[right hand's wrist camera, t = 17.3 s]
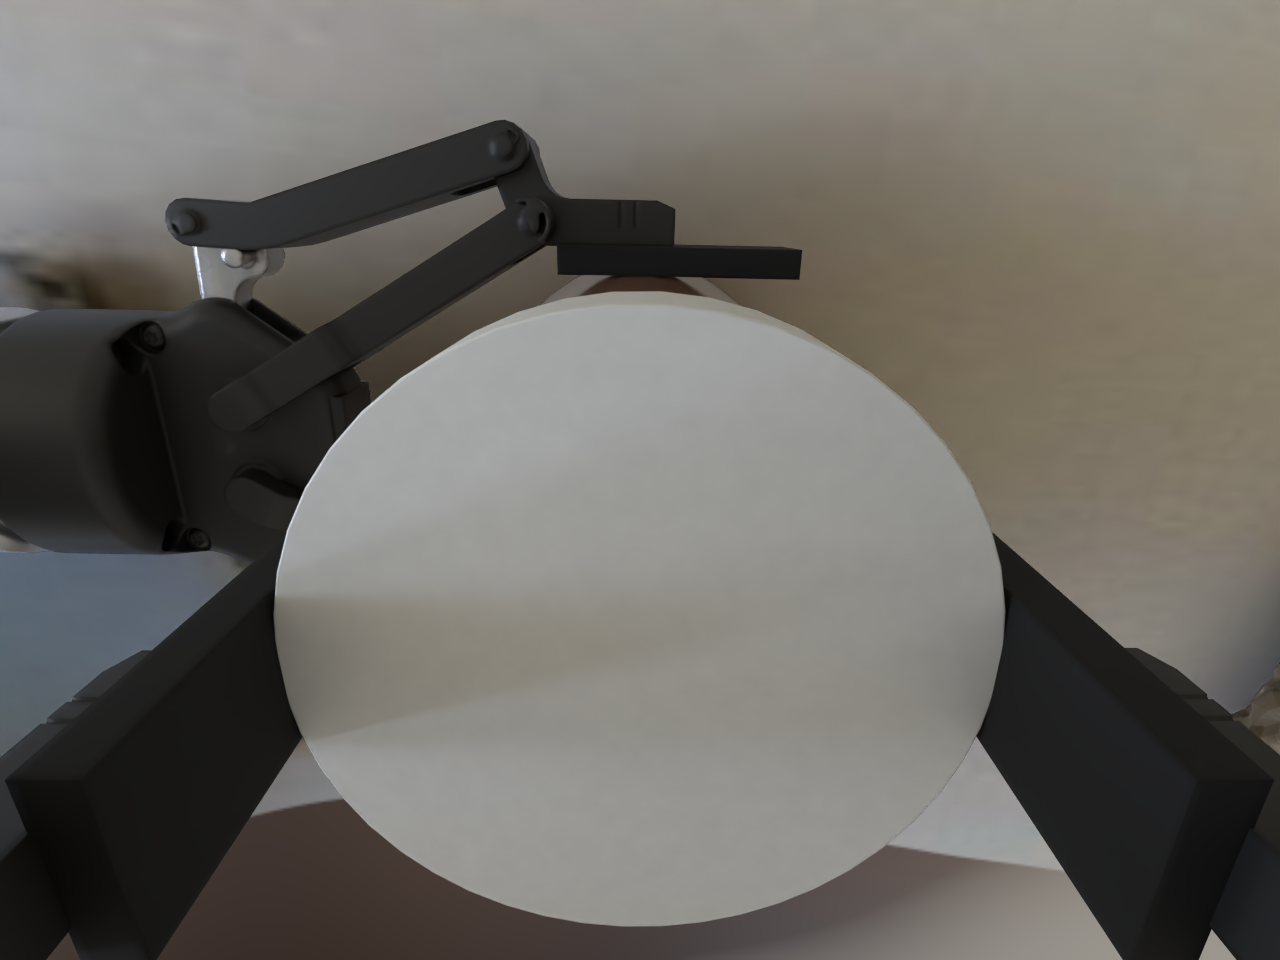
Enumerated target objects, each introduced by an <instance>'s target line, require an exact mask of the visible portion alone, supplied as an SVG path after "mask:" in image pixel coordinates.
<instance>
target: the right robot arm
mask: <svg viewBox="0 0 1280 960" xmlns="http://www.w3.org/2000/svg"><path fill="white" fill-rule="evenodd" d="M992 534H993V538H994V542H995V545H996V549H997V553H998V557H999V560H1000V564H1001V570H1002V580H1003V590H1004V600H1005V628H1004V641H1003V646H1002V652H1001V656H1000V661H999V665H998V670H997V675H996V679H995V684H994V688H993V693H992V696H991V700H990V704H989V707H988V710H987V713H986V715H985V718H984V721H983V723H982V726H981V728H980V730H979V732H978V734H977V738H978V739H979V741H980V742H981V744H982V746H983V747H984V749H985V750H986V752H987V753H988V755H989V756H990V758H991V759H992V761H993V762H994V764H995V765H996V767H997V768H998V770H999V771H1000V773H1001V775H1002V776H1003V778H1004V779H1005V781H1006V782H1007V784H1008V785H1009V787H1010V788H1011V790H1012V791H1013V793H1014V794H1015V796H1016V797H1017V799H1018V800H1019V802H1020V803H1021V805H1022V807H1023V808H1024V810H1025V811H1026V813H1027V814H1028V816H1029V817H1030V819H1031V820H1032V822H1033V823H1034V825H1035V826H1036V828H1037V829H1038V831H1039V832H1040V834H1041V836H1042V837H1043V839H1044V840H1045V842H1046V843H1047V845H1048V846H1049V848H1050V849H1051V851H1052V852H1053V854H1054V855H1055V857H1056V858H1057V860H1058V861H1059V863H1060V865H1061V866H1062V868H1063V869H1064V871H1065V872H1066V874H1067V875H1068V877H1069V878H1070V880H1071V881H1072V883H1073V884H1074V886H1075V887H1076V889H1077V890H1078V892H1079V893H1080V895H1081V897H1082V898H1083V900H1084V901H1085V903H1086V904H1087V906H1088V907H1089V909H1090V910H1091V912H1092V913H1093V915H1094V916H1095V918H1096V919H1097V921H1098V922H1099V924H1100V926H1101V927H1102V929H1103V930H1104V932H1105V933H1106V935H1107V936H1108V938H1109V939H1110V941H1111V942H1112V944H1113V945H1114V947H1115V948H1116V950H1117V951H1118V953H1119V954H1120V956H1121V958H1122V959H1123V960H1199V958H1200V955H1201V953H1202V950H1203V948H1204V946H1205V943H1206V941H1207V939H1208V936H1209V934H1210V931H1211V929H1212V930H1213V931H1214V932H1215V934H1216V935H1217V936H1218V937H1219V939H1220V940H1221V941H1222V942H1223V944H1224V945H1225V946H1226V947H1227V949H1228V950H1229V951H1230V952H1231V953H1232V955H1233V956H1234V957H1235V958H1236V960H1280V755H1279V754H1278V753H1277V752H1276V751H1275V750H1273V749H1272V748H1271V747H1270V746H1269V745H1267V744H1266V743H1265V742H1264V741H1263V740H1261V739H1260V738H1259V737H1258V736H1257V735H1255V734H1254V733H1253V732H1252V731H1251V730H1249V729H1248V728H1247V727H1246V726H1245V725H1243V724H1242V723H1241V722H1240V721H1234V720H1233V718H1232V716H1233V715H1231V714H1230V713H1229V712H1228V711H1226V710H1225V709H1224V708H1223V707H1222V706H1220V705H1219V704H1218V703H1217V702H1216V701H1214V700H1213V699H1208V698H1207V694H1206V693H1205V692H1204V691H1202V690H1201V689H1200V688H1199V687H1198V686H1196V685H1195V684H1194V683H1193V682H1192V681H1190V680H1189V679H1188V678H1187V677H1186V676H1184V675H1183V674H1182V673H1181V672H1180V671H1178V670H1177V669H1175V668H1174V667H1172V666H1170V665H1168V664H1166V663H1164V662H1162V661H1161V660H1159V659H1157V658H1155V657H1153V656H1151V655H1149V654H1148V653H1146V652H1144V651H1142V650H1140V649H1138V648H1124V647H1123V646H1121V645H1120V644H1119V643H1118V642H1117V641H1116V640H1115V639H1113V638H1112V637H1111V636H1110V635H1109V634H1108V633H1107V632H1105V631H1104V630H1103V629H1102V628H1101V627H1100V626H1099V625H1097V624H1096V623H1095V622H1094V621H1093V620H1092V619H1091V618H1089V617H1088V616H1087V615H1086V614H1085V613H1084V612H1083V611H1082V610H1080V609H1079V608H1078V607H1077V606H1076V605H1075V604H1074V603H1072V602H1071V601H1070V600H1069V599H1068V598H1067V597H1066V596H1064V595H1063V594H1062V593H1061V592H1060V591H1059V590H1058V589H1056V588H1055V587H1054V586H1053V585H1052V584H1051V583H1050V582H1048V581H1047V580H1046V579H1045V578H1044V577H1043V576H1042V575H1040V574H1039V573H1038V572H1037V571H1036V570H1035V569H1034V568H1032V567H1031V566H1030V565H1029V564H1028V563H1027V562H1026V561H1024V560H1023V559H1022V558H1021V557H1020V556H1019V555H1018V554H1017V553H1015V552H1014V551H1013V550H1012V549H1011V548H1010V547H1009V546H1007V545H1006V544H1005V543H1004V542H1003V541H1002V540H1001V539H999V538H998V537H997V536H996V535H995V534H994V533H993V532H992ZM285 537H286V534H284V535H283V536H282V537H281V538H280V539H279V540H278V541H276V542H275V543H274V544H273V545H272V546H271V547H270V548H268V549H267V550H266V551H265V552H264V553H263V554H262V555H260V556H259V557H258V558H257V559H256V560H255V561H254V562H252V563H251V564H250V565H249V566H248V567H247V568H246V569H244V570H243V571H242V572H241V573H240V574H239V575H238V576H236V577H235V578H234V579H233V580H232V581H231V582H230V583H228V584H227V585H226V586H225V587H224V588H223V589H222V590H220V591H219V592H218V593H217V594H216V595H215V596H214V597H212V598H211V599H210V600H209V601H208V602H207V603H206V604H205V605H203V606H202V607H201V608H200V609H199V610H198V611H197V612H195V613H194V614H193V615H192V616H191V617H190V618H189V619H187V620H186V621H185V622H184V623H183V624H182V625H181V626H179V627H178V628H177V629H176V630H175V631H174V632H173V633H171V634H170V635H169V636H168V637H167V638H166V639H165V640H163V641H162V642H161V643H160V644H159V645H158V646H157V647H155V648H154V649H153V650H152V651H141V652H139V653H137V654H135V655H133V656H131V657H129V658H128V659H126V660H124V661H122V662H120V663H118V664H117V665H115V666H113V667H111V668H109V669H107V670H106V671H104V672H102V673H101V674H100V675H99V676H97V677H96V678H95V679H94V680H93V681H91V682H90V683H89V684H88V685H87V686H85V687H84V688H83V689H82V690H81V691H79V692H78V693H77V694H76V695H75V696H74V697H73V700H72V702H66V703H65V704H64V705H63V706H62V707H60V708H59V709H58V710H57V711H56V712H54V713H53V714H52V715H51V716H50V717H48V718H47V723H46V724H40V725H39V726H38V727H36V728H35V729H34V730H33V731H32V732H30V733H29V734H28V735H27V736H26V737H24V738H23V739H22V740H21V741H20V742H18V743H17V744H16V745H15V746H14V747H13V748H11V749H10V750H9V751H8V752H7V753H5V754H4V755H3V756H2V757H1V758H0V960H46V959H47V958H48V957H49V955H50V954H51V953H52V952H53V950H54V949H55V948H56V947H57V945H58V944H59V943H60V942H61V940H62V939H63V938H64V937H65V935H66V934H67V933H68V932H69V934H70V936H71V939H72V941H73V943H74V946H75V948H76V951H77V953H78V955H79V958H80V960H156V959H157V958H158V956H159V955H160V953H161V952H162V950H163V949H164V947H165V946H166V944H167V943H168V941H169V940H170V938H171V937H172V935H173V934H174V932H175V930H176V929H177V927H178V926H179V924H180V923H181V921H182V920H183V918H184V917H185V915H186V914H187V912H188V911H189V909H190V908H191V906H192V904H193V903H194V901H195V900H196V898H197V897H198V895H199V894H200V892H201V891H202V889H203V888H204V886H205V885H206V883H207V882H208V880H209V879H210V877H211V876H212V874H213V873H214V871H215V869H216V868H217V866H218V865H219V863H220V862H221V860H222V859H223V857H224V856H225V854H226V853H227V851H228V850H229V848H230V847H231V845H232V844H233V842H234V840H235V839H236V837H237V836H238V834H239V833H240V831H241V830H242V828H243V827H244V825H245V824H246V822H247V821H248V819H249V818H250V816H251V815H252V813H253V812H254V810H255V808H256V807H257V805H258V804H259V802H260V801H261V799H262V798H263V796H264V795H265V793H266V792H267V790H268V789H269V787H270V786H271V784H272V783H273V781H274V779H275V778H276V776H277V775H278V773H279V772H280V770H281V769H282V767H283V766H284V764H285V763H286V761H287V760H288V758H289V757H290V755H291V754H292V752H293V751H294V749H295V747H296V746H297V744H298V743H299V741H300V740H301V738H302V737H303V736H302V735H301V733H300V730H299V728H298V725H297V723H296V720H295V718H294V715H293V713H292V710H291V708H290V704H289V701H288V697H287V693H286V688H285V684H284V679H283V675H282V670H281V666H280V661H279V657H278V652H277V646H276V641H275V629H274V616H273V614H274V602H275V590H276V577H277V570H278V566H279V562H280V558H281V553H282V549H283V545H284V541H285Z"/></svg>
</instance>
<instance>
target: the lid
mask: <svg viewBox="0 0 1280 960" xmlns="http://www.w3.org/2000/svg"><path fill="white" fill-rule="evenodd" d="M273 616H274V629H275V641H276V646H277V652H278V657H279V661H280V666H281V670H282V675H283V679H284V684H285V688H286V693H287V697H288V701H289V704H290V708H291V710H292V713H293V715H294V718H295V720H296V723H297V725H298V728H299V730H300V733H301V735H302V736H303V738H304V740H305V742H306V743H307V745H308V747H309V749H310V751H311V752H312V754H313V756H314V758H315V759H316V761H317V763H318V765H319V767H320V768H321V769H322V771H323V772H324V773H325V775H326V776H327V777H328V779H329V780H330V781H331V783H332V784H333V785H334V787H335V788H336V789H337V791H338V792H339V793H340V795H341V796H342V797H343V798H344V800H345V801H346V802H347V803H348V804H349V805H350V806H351V807H352V808H353V809H354V810H355V811H356V812H357V813H358V814H359V815H360V816H361V817H362V818H363V819H364V820H365V821H366V822H367V823H368V824H369V825H370V826H371V827H372V828H373V829H374V830H375V831H377V832H378V833H379V834H380V835H381V836H383V837H384V838H385V839H386V840H388V841H389V842H390V843H391V844H392V845H394V846H395V847H396V848H397V849H399V850H400V851H401V852H403V853H404V854H406V855H407V856H409V857H410V858H412V859H413V860H415V861H416V862H418V863H419V864H421V865H423V866H424V867H426V868H427V869H429V870H430V871H432V872H433V873H435V874H437V875H439V876H441V877H443V878H445V879H447V880H449V881H451V882H453V883H455V884H457V885H459V886H461V887H463V888H464V889H466V890H468V891H471V892H473V893H476V894H479V895H481V896H484V897H486V898H489V899H492V900H494V901H496V902H499V903H502V904H504V905H507V906H511V907H514V908H518V909H522V910H525V911H529V912H532V913H536V914H539V915H543V916H548V917H553V918H559V919H564V920H570V921H576V922H581V923H590V924H602V925H614V926H667V925H677V924H687V923H697V922H705V921H710V920H715V919H720V918H725V917H730V916H735V915H740V914H744V913H747V912H751V911H754V910H757V909H761V908H764V907H767V906H771V905H774V904H778V903H780V902H783V901H785V900H788V899H790V898H793V897H795V896H797V895H800V894H802V893H805V892H807V891H810V890H812V889H815V888H817V887H819V886H821V885H822V884H824V883H826V882H828V881H830V880H832V879H834V878H836V877H838V876H840V875H841V874H843V873H845V872H847V871H849V870H851V869H852V868H854V867H855V866H856V865H858V864H860V863H861V862H862V861H864V860H866V859H867V858H868V857H870V856H871V855H873V854H874V853H876V852H877V851H879V850H880V849H882V848H883V847H884V846H886V845H887V844H888V843H889V842H890V841H891V840H893V839H894V838H895V837H896V836H897V835H899V834H900V833H901V832H902V831H903V830H904V829H906V828H907V827H908V826H909V825H910V824H912V823H913V822H914V820H915V819H916V818H917V817H918V816H919V815H920V814H921V813H922V812H923V811H924V810H925V809H926V808H927V807H928V805H929V804H930V803H931V802H932V801H933V800H934V799H935V798H936V797H937V796H938V795H939V794H940V792H941V791H942V789H943V788H944V787H945V785H946V784H947V783H948V781H949V780H950V778H951V777H952V776H953V774H954V773H955V771H956V770H957V769H958V767H959V766H960V765H961V763H962V762H963V760H964V758H965V756H966V754H967V752H968V751H969V749H970V747H971V745H972V743H973V741H974V739H975V738H976V736H977V734H978V732H979V730H980V728H981V726H982V723H983V721H984V718H985V715H986V713H987V710H988V707H989V704H990V700H991V696H992V693H993V688H994V684H995V679H996V675H997V670H998V665H999V661H1000V656H1001V652H1002V646H1003V641H1004V628H1005V600H1004V590H1003V580H1002V570H1001V564H1000V560H999V557H998V553H997V549H996V545H995V542H994V538H993V534H992V530H991V526H990V523H989V521H988V519H987V517H986V514H985V512H984V510H983V508H982V506H981V503H980V501H979V499H978V497H977V494H976V492H975V490H974V488H973V485H972V483H971V482H970V480H969V479H968V477H967V475H966V474H965V472H964V471H963V469H962V468H961V466H960V465H959V463H958V462H957V460H956V459H955V457H954V455H953V454H952V452H951V451H950V449H949V448H948V446H947V445H946V443H945V442H944V441H943V440H942V439H941V438H940V437H939V436H938V434H937V433H936V432H935V431H934V430H933V429H932V428H931V427H930V426H929V424H928V423H927V422H926V421H925V420H924V419H923V418H922V417H921V416H920V414H919V413H918V412H917V411H916V410H915V409H914V408H913V407H912V406H911V405H910V404H909V403H907V402H906V401H905V400H904V399H902V398H901V397H900V396H899V395H898V394H896V393H895V392H894V391H893V390H892V389H890V388H889V387H888V386H887V385H885V384H884V383H883V382H882V381H881V380H879V379H878V378H877V377H876V376H875V375H873V374H872V373H870V372H869V371H867V370H865V369H864V368H862V367H861V366H859V365H858V364H856V363H855V362H853V361H852V360H850V359H849V358H847V357H845V356H844V355H842V354H841V353H839V352H838V351H836V350H834V349H833V348H831V347H829V346H828V345H826V344H824V343H823V342H821V341H819V340H818V339H816V338H814V337H813V336H811V335H809V334H808V333H806V332H804V331H803V330H801V329H799V328H797V327H795V326H792V325H790V324H788V323H785V322H783V321H781V320H778V319H776V318H774V317H771V316H769V315H766V314H764V313H762V312H759V311H757V310H754V309H750V308H747V307H743V306H739V305H735V304H732V303H728V302H724V301H721V300H717V299H713V298H709V297H702V296H694V295H686V294H678V293H670V292H663V291H639V292H607V293H600V294H593V295H586V296H579V297H572V298H565V299H561V300H558V301H554V302H551V303H547V304H544V305H540V306H537V307H533V308H530V309H526V310H523V311H519V312H517V313H514V314H512V315H510V316H508V317H505V318H503V319H501V320H499V321H496V322H494V323H492V324H490V325H487V326H485V327H483V328H481V329H478V330H476V331H474V332H472V333H471V334H469V335H468V336H466V337H464V338H463V339H461V340H460V341H458V342H456V343H455V344H453V345H452V346H450V347H449V348H447V349H445V350H444V351H442V352H441V353H439V354H437V355H436V356H434V357H433V358H431V359H430V360H428V361H427V362H425V363H423V364H422V365H420V366H419V367H417V368H416V369H414V370H413V371H411V372H410V373H408V374H406V375H405V376H403V377H402V378H400V379H399V380H398V381H397V382H396V383H395V384H393V385H392V386H391V387H390V388H389V389H387V390H386V391H385V392H384V393H383V394H382V395H380V396H379V397H378V398H377V399H376V400H375V401H373V402H372V403H371V404H370V405H369V406H368V407H366V408H365V409H364V410H363V411H362V412H361V413H360V414H359V415H358V416H357V418H356V419H355V420H354V421H353V422H352V423H351V424H350V426H349V427H348V428H347V429H346V430H345V431H344V433H343V434H342V435H341V436H340V437H339V438H338V439H337V441H336V442H335V443H334V444H333V445H332V446H331V448H330V449H329V450H328V452H327V454H326V455H325V457H324V458H323V460H322V462H321V463H320V465H319V466H318V468H317V470H316V471H315V473H314V474H313V476H312V478H311V479H310V481H309V482H308V484H307V486H306V487H305V489H304V491H303V494H302V496H301V499H300V501H299V503H298V506H297V508H296V510H295V513H294V515H293V517H292V520H291V522H290V525H289V527H288V529H287V533H286V537H285V541H284V545H283V549H282V553H281V558H280V562H279V566H278V570H277V577H276V590H275V602H274V614H273Z"/></svg>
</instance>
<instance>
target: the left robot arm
mask: <svg viewBox="0 0 1280 960" xmlns="http://www.w3.org/2000/svg"><path fill="white" fill-rule="evenodd" d="M497 186H498V189H499V191H500V194H501V197H502V199H503V202H504V204H505V207H506V209H505V210H504V211H502V212H501V213H499V214H498V215H496V216H495V217H493V218H491V219H490V220H488V221H487V222H485V223H484V224H482V225H481V226H479V227H477V228H476V229H474V230H473V231H471V232H470V233H468V234H467V235H465V236H464V237H462V238H460V239H459V240H457V241H456V242H454V243H453V244H451V245H450V246H448V247H446V248H445V249H443V250H442V251H440V252H439V253H437V254H436V255H434V256H432V257H431V258H429V259H428V260H426V261H425V262H423V263H422V264H420V265H419V266H417V267H415V268H414V269H412V270H411V271H409V272H408V273H406V274H405V275H403V276H401V277H400V278H398V279H397V280H395V281H394V282H392V283H391V284H389V285H388V286H386V287H384V288H383V289H381V290H380V291H378V292H377V293H375V294H374V295H372V296H370V297H369V298H367V299H366V300H364V301H363V302H361V303H360V304H358V305H356V306H355V307H353V308H352V309H350V310H349V311H347V312H346V313H344V314H343V315H341V316H339V317H338V318H336V319H335V320H333V321H331V322H329V323H327V324H325V325H323V326H321V327H319V328H317V329H316V330H314V331H312V332H311V333H309V334H307V333H305V332H304V331H302V330H301V329H299V328H298V327H296V326H295V325H294V324H292V323H291V322H289V321H288V320H286V319H285V318H283V317H282V316H280V315H279V314H277V313H276V312H274V311H273V310H271V309H270V308H268V307H267V306H265V305H264V304H263V303H261V302H259V301H258V300H256V299H254V298H252V289H253V286H254V284H255V283H256V282H257V280H259V279H260V278H262V277H265V276H269V275H274V274H275V273H277V272H278V271H279V270H280V269H281V268H282V265H283V262H284V259H285V252H284V249H283V248H287V247H300V246H308V245H314V244H318V243H322V242H326V241H329V240H332V239H335V238H338V237H342V236H345V235H348V234H351V233H354V232H357V231H360V230H363V229H366V228H369V227H373V226H376V225H379V224H382V223H385V222H388V221H391V220H394V219H397V218H400V217H404V216H407V215H410V214H413V213H416V212H419V211H422V210H425V209H428V208H432V207H435V206H438V205H441V204H444V203H447V202H450V201H453V200H456V199H459V198H463V197H466V196H469V195H472V194H475V193H478V192H481V191H484V190H487V189H491V188H494V187H497ZM165 221H166V224H167V227H168V229H169V231H170V233H171V234H172V235H173V236H174V238H175V239H177V240H178V241H180V242H181V243H182V244H185V245H189V246H193V251H194V258H195V264H196V270H197V277H198V283H199V290H200V296H201V299H200V300H198V301H196V302H194V303H192V304H191V305H189V306H188V307H186V308H185V309H183V310H180V311H164V310H117V309H69V308H59V309H47V310H43V311H38V310H33V309H28V308H24V307H0V552H12V553H37V552H43V551H49V550H51V551H55V552H63V553H96V554H151V555H166V554H180V553H189V552H198V551H216V552H220V553H224V554H227V555H230V556H232V557H234V558H236V559H239V560H241V561H243V562H245V563H248V564H251V563H252V562H254V561H255V560H256V559H257V558H258V557H259V556H260V555H262V554H263V553H264V552H265V551H266V550H267V549H268V548H270V547H271V546H272V545H273V544H274V543H275V542H276V541H278V540H279V539H280V538H281V537H282V536H283V535H284V534H286V533H287V529H288V527H289V525H290V522H291V520H292V517H293V515H294V513H295V510H296V508H297V506H298V503H299V501H300V499H301V496H302V494H303V491H304V489H305V487H306V486H307V484H308V482H309V481H310V479H311V478H312V476H313V474H314V473H315V471H316V470H317V468H318V466H319V465H320V463H321V462H322V460H323V458H324V457H325V455H326V454H327V452H328V450H329V449H330V448H331V446H332V445H333V444H334V443H335V442H336V441H337V439H338V438H339V437H340V436H341V435H342V434H343V433H344V431H345V430H346V429H347V428H348V427H349V426H350V424H351V423H352V422H353V421H354V420H355V419H356V418H357V416H358V415H359V414H360V413H361V412H362V411H363V410H364V409H365V408H366V407H368V406H369V405H370V404H371V400H370V392H369V384H368V382H361V380H360V378H359V376H358V374H357V372H356V371H355V370H354V368H353V367H355V366H356V365H358V364H359V363H361V362H363V361H364V360H366V359H367V358H369V357H371V356H372V355H374V354H375V353H377V352H379V351H380V350H382V349H383V348H385V347H386V346H388V345H389V344H390V343H392V342H393V341H395V340H397V339H398V338H400V337H401V336H403V335H405V334H406V333H408V332H409V331H411V330H413V329H414V328H416V327H417V326H419V325H421V324H422V323H424V322H425V321H427V320H429V319H430V318H432V317H433V316H435V315H437V314H438V313H440V312H441V311H443V310H445V309H446V308H448V307H449V306H451V305H453V304H454V303H456V302H457V301H459V300H461V299H462V298H464V297H465V296H467V295H469V294H470V293H472V292H473V291H475V290H477V289H478V288H480V287H481V286H483V285H484V284H486V283H488V282H489V281H491V280H492V279H494V278H496V277H497V276H499V275H500V274H502V273H504V272H505V271H507V270H508V269H510V268H512V267H513V266H515V265H516V264H518V263H520V262H521V261H523V260H524V259H526V258H528V257H529V256H531V255H532V254H534V253H536V252H537V251H539V250H540V249H542V248H544V247H545V246H557V264H558V274H559V275H606V276H653V277H700V278H747V279H794V280H799V277H800V267H801V257H802V250H798V249H792V248H786V247H761V246H715V245H674V231H675V209H674V208H672V207H669V206H667V205H665V204H663V203H661V202H659V201H647V200H601V199H568V198H564V197H562V196H560V195H559V194H558V193H557V192H556V191H555V190H554V189H553V188H552V186H551V184H550V182H549V180H548V177H547V175H546V172H545V169H544V166H543V163H542V161H541V158H540V152H539V148H538V146H537V144H536V142H535V140H534V139H533V138H531V137H530V136H529V135H528V134H527V133H526V132H525V131H523V130H522V129H521V128H519V127H518V126H517V125H515V124H514V123H512V122H509V121H506V120H499V121H494V122H491V123H487V124H484V125H481V126H478V127H475V128H472V129H469V130H466V131H463V132H460V133H457V134H454V135H451V136H448V137H445V138H442V139H439V140H436V141H433V142H430V143H427V144H424V145H421V146H418V147H415V148H412V149H409V150H406V151H403V152H400V153H397V154H394V155H391V156H388V157H385V158H382V159H379V160H376V161H373V162H370V163H367V164H364V165H361V166H358V167H355V168H352V169H349V170H346V171H343V172H340V173H337V174H334V175H331V176H328V177H325V178H322V179H319V180H316V181H313V182H310V183H307V184H304V185H301V186H298V187H295V188H292V189H289V190H286V191H283V192H280V193H277V194H274V195H271V196H268V197H265V198H262V199H259V200H256V201H253V202H245V201H229V200H211V199H193V198H181V199H176V200H174V201H173V202H172V203H170V204H169V206H168V208H167V210H166V220H165Z"/></svg>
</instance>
